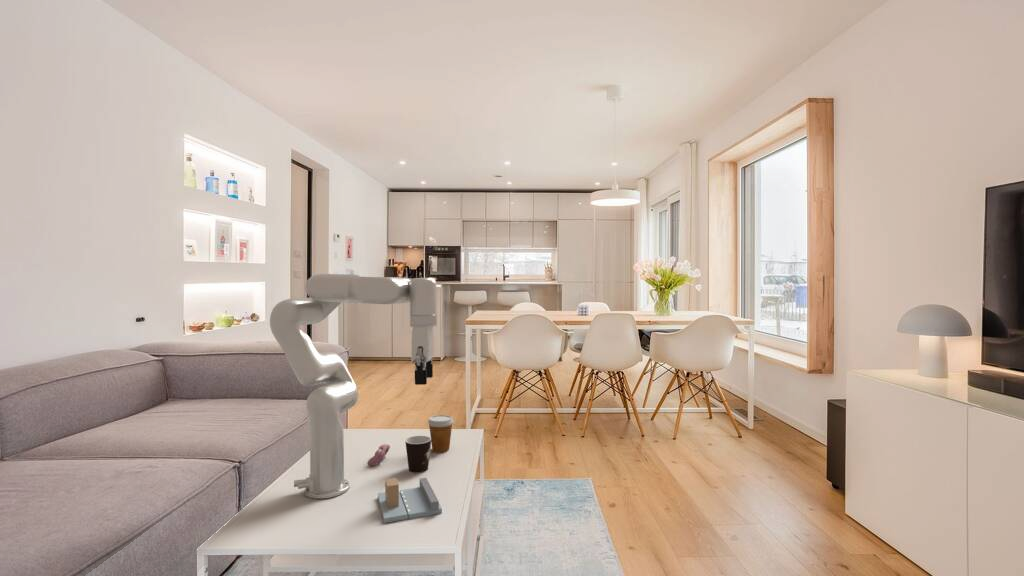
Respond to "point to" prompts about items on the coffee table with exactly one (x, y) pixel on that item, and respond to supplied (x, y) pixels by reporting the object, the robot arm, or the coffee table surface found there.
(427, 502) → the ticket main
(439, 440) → the disposable coffee cup
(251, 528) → the coffee table surface
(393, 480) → the grey slab
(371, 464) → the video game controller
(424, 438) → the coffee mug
